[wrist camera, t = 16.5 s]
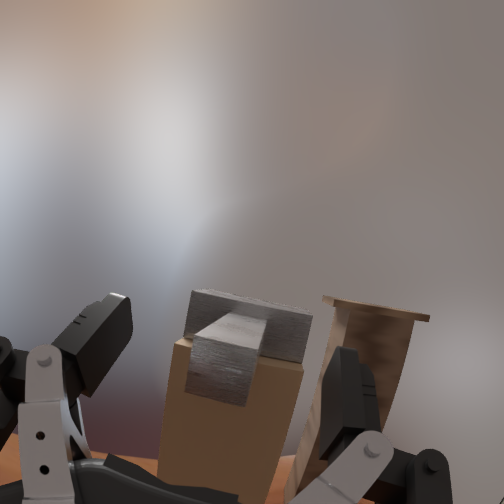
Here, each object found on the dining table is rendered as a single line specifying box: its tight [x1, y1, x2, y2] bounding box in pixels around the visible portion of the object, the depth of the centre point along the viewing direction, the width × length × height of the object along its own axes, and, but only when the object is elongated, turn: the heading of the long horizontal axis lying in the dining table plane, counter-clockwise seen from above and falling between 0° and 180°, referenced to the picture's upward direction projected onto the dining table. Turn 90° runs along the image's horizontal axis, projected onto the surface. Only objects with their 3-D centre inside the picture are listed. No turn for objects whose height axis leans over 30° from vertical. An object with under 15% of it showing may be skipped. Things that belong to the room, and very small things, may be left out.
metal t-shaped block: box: [183, 289, 313, 407], centre depth 22 cm, size 10×17×4 cm, turn 175°
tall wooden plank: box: [284, 296, 430, 504], centre depth 35 cm, size 12×8×32 cm
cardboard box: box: [157, 337, 304, 504], centre depth 27 cm, size 10×12×27 cm
